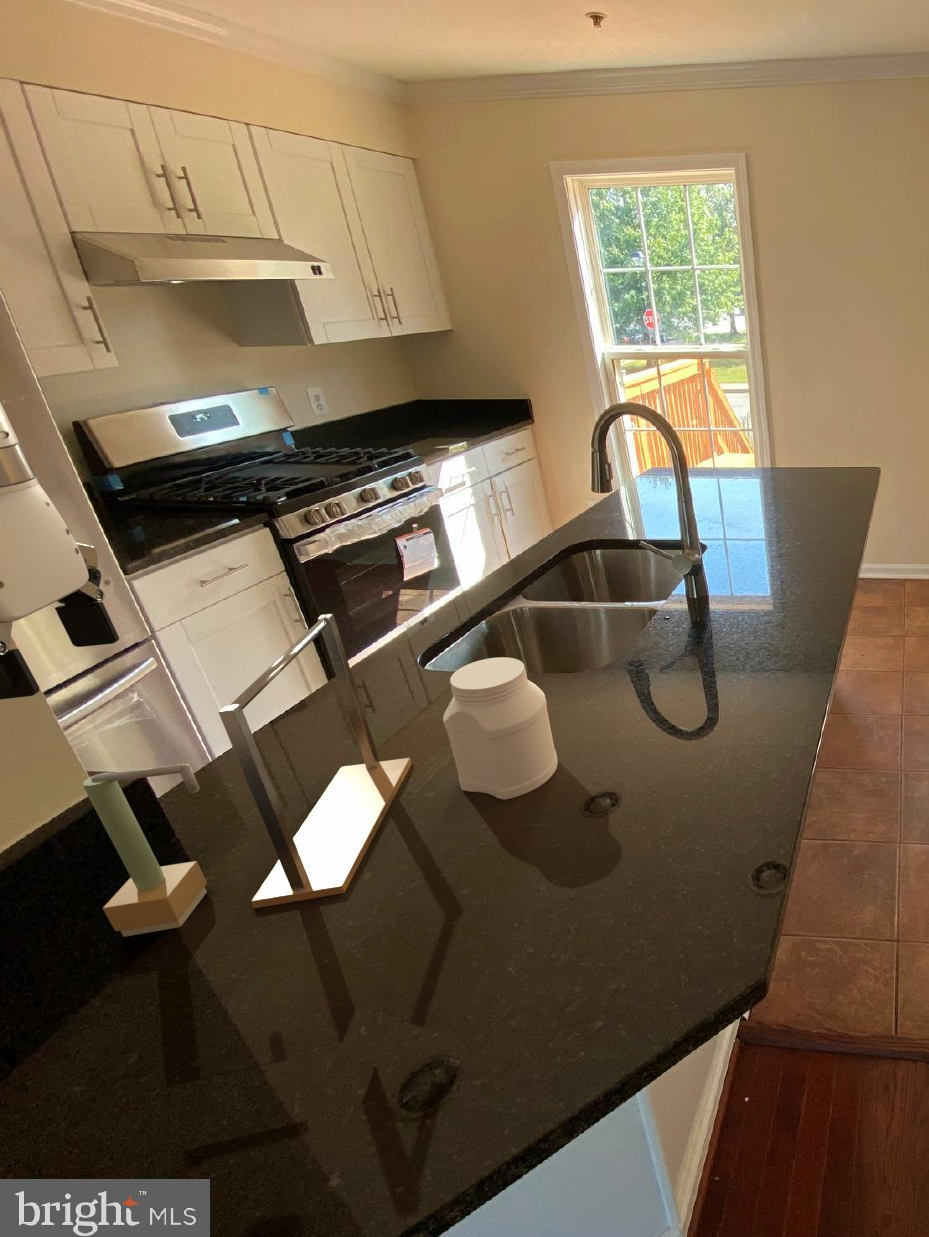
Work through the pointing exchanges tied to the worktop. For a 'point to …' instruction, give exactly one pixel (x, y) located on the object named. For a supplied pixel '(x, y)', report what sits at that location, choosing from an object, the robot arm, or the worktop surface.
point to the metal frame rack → (343, 811)
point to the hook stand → (144, 860)
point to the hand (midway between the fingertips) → (58, 668)
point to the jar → (499, 729)
